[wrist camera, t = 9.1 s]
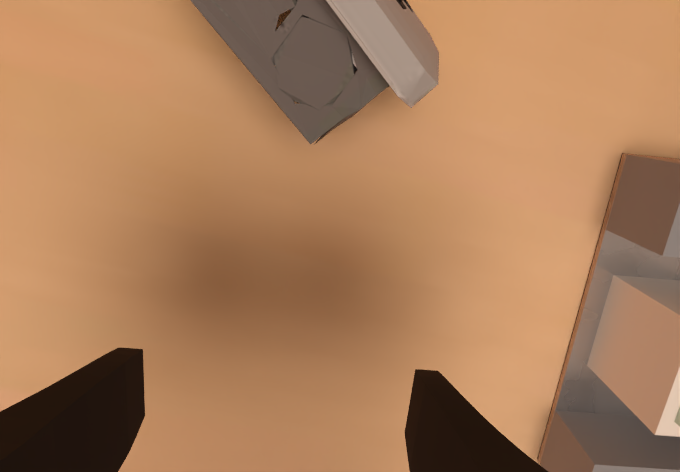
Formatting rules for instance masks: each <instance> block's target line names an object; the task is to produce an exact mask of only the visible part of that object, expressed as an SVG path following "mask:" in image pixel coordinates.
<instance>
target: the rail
mask: <svg viewBox="0 0 680 472" xmlns="http://www.w3.org/2000/svg"><path fill="white" fill-rule="evenodd" d="M630 155H633V154H630ZM626 156H627V154H622V158H621V161H620V165H619V168H618V172H617V176H616V179H615V183H614V186H613V190H612V194H611V197H610V201H609V204H608V208H607V212H606V215H605V219H604V222H603V226H602V230H601V233H600V237H599V240H598V244H597V248H596V251H595V255H594V258H593V262H592V266H591V269H590V273H589V277H588V280H587V284H586V287H585V291H584V295H583V298H582V302H581V305H580V309H579V313H578V316H577V320H576V323H575V327H574V331H573V334H572V338H571V341H570V345H569V349H568V352H567V356H566V359H565V363H564V367H563V370H562V374H561V377H560V381H559V385H558V388H557V392H556V395H555V399H554V403H553V406H552V410H551V413H550V417H549V421H548V424H547V428H546V431H545V435H544V439H543V442H542V446H541V449H540V453H539V457H538V461H539V462H541V459H542V455H543V452H544V448H545V444H546V441H547V437H548V434H549V430H550V427H551V423H552V420H553V416H554V412H555V410H559V411H573V412H588V413H602V414H616V415H631V416H636V415H635V414H634V413H633V412H632V411H631V410H630V409H629V408H628V407H627V406H626V405H625V404H624V403H623V402H622V401H621V400H620V399H619V398H618V397H617V396H616V395H615V394H614V393H613V392H612V391H611V390H610V388H609V387H608V386H607V385H606V384H605V383H604V382H603V381H602V380H601V379H600V378H599V377H598V376H597V375H596V374H595V373H594V372H593V371H592V370H591V369H590V368H589V367H588V366H587V363H588V360H589V356H590V353H591V350H592V346H593V343H594V339H595V336H596V333H597V329H598V326H599V322H600V319H601V315H602V312H603V309H604V305H605V302H606V298H607V295H608V292H609V288H610V285H611V281H612V278H613V275H621V276H633V277H645V278H656V279H668V280H680V258H678V257H667V256H661V255H659V254H657V253H655V252H652V251H650V250H648V249H646V248H644V247H642V246H640V245H637V244H635V243H633V242H631V241H629V240H627V239H625V238H622V237H620V236H618V235H616V234H614V233H612V232H610V231H607V230H606V227H607V223H608V220H609V216H610V213H611V209H612V206H613V202H614V198H615V195H616V191H617V188H618V184H619V181H620V177H621V174H622V170H623V166H624V163H625V159H626ZM640 156H643V155H640ZM649 157H653V156H649ZM659 158H663V157H659ZM669 159H673V158H669ZM679 160H680V159H679Z"/></svg>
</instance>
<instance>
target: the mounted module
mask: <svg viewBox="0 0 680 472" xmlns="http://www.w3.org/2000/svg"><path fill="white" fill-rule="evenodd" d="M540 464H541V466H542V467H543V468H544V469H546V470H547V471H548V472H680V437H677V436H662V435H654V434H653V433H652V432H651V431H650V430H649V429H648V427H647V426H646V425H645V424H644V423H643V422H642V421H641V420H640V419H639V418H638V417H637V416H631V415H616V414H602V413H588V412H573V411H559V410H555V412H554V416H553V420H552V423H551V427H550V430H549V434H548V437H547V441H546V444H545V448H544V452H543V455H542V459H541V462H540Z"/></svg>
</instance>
